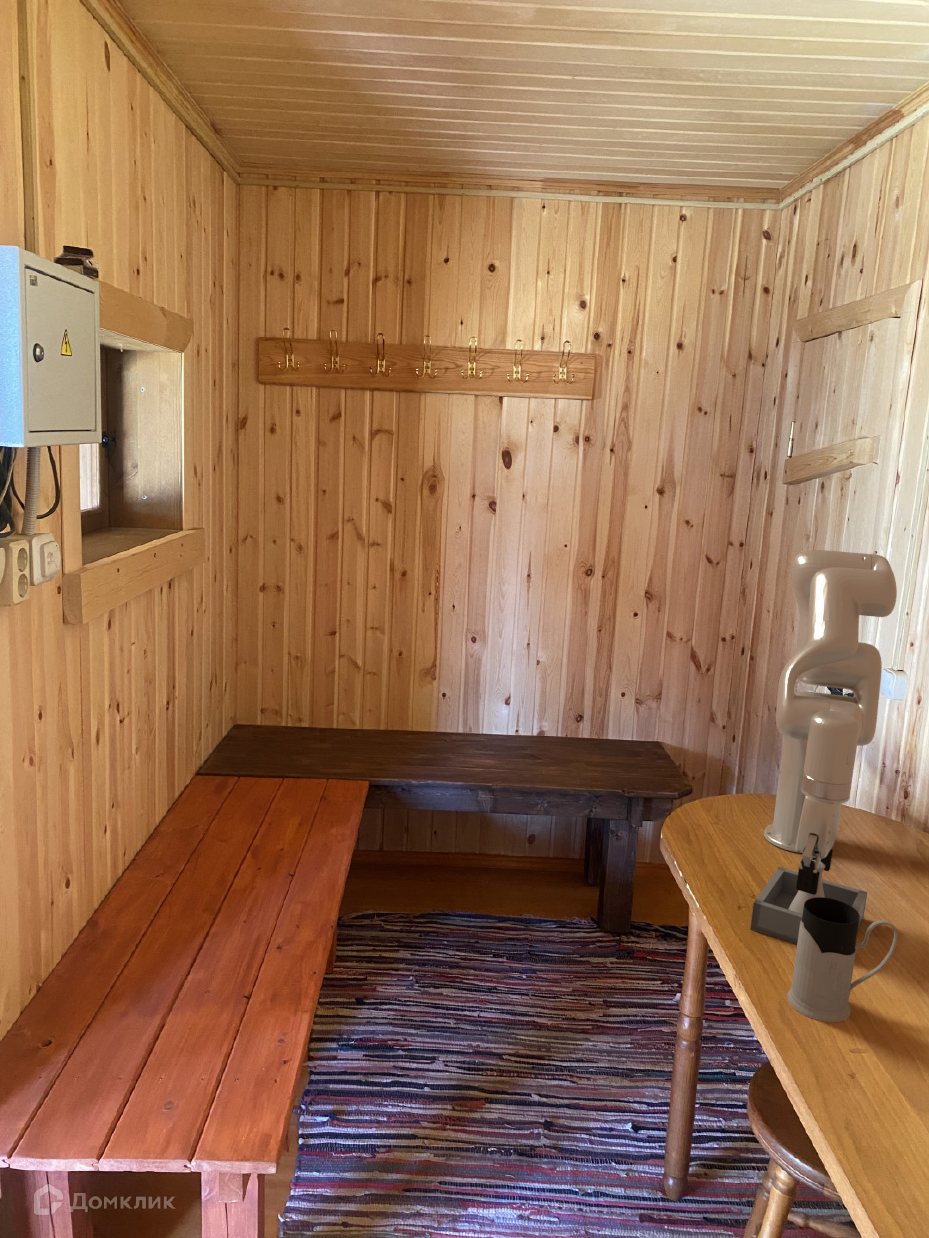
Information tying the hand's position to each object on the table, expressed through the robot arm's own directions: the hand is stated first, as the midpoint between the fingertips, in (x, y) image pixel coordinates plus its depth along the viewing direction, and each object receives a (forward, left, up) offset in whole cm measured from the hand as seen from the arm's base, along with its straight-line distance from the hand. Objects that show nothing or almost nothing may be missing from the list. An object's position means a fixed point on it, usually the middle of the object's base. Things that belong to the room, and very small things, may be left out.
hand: (813, 879), depth 155 cm
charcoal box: (+1, 0, -8) cm, 8 cm away
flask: (0, 0, -7) cm, 7 cm away
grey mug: (+22, +9, -8) cm, 25 cm away
